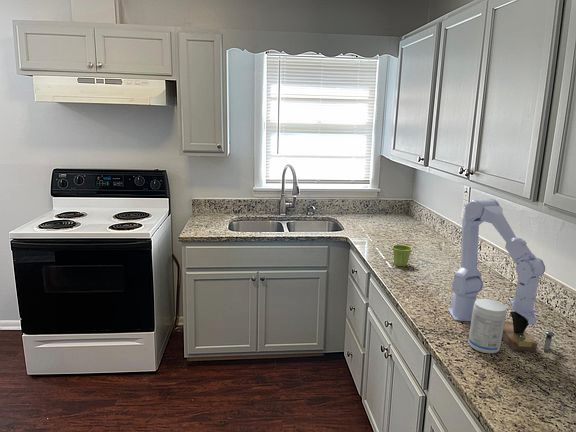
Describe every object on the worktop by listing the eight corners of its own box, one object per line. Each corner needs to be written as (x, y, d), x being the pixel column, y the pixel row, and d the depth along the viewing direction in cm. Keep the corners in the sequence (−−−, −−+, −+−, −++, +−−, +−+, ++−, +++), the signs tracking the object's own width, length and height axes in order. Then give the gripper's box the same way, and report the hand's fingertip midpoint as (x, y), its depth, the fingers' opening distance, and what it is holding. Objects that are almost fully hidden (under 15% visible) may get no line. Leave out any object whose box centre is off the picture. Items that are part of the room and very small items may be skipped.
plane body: (493, 328, 158) (495, 320, 157) (515, 330, 158) (517, 322, 157) (511, 350, 144) (513, 341, 143) (535, 352, 143) (537, 343, 142)
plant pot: (402, 269, 214) (404, 251, 212) (386, 263, 220) (388, 246, 218) (414, 265, 220) (416, 248, 218) (397, 260, 226) (399, 243, 224)
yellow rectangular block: (512, 337, 145) (513, 330, 145) (524, 338, 145) (525, 331, 144) (518, 346, 141) (520, 339, 140) (531, 347, 140) (532, 340, 140)
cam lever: (539, 361, 138) (542, 345, 136) (542, 345, 148) (545, 330, 146) (548, 364, 136) (551, 347, 135) (551, 348, 146) (554, 332, 145)
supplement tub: (474, 336, 151) (481, 295, 148) (504, 347, 145) (511, 305, 142) (462, 346, 144) (469, 303, 141) (493, 358, 138) (501, 313, 135)
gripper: (549, 306, 135) (541, 347, 139) (527, 287, 150) (520, 325, 153) (525, 304, 136) (517, 345, 139) (506, 286, 150) (499, 323, 153)
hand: (517, 334), depth 146 cm, fingers closed
